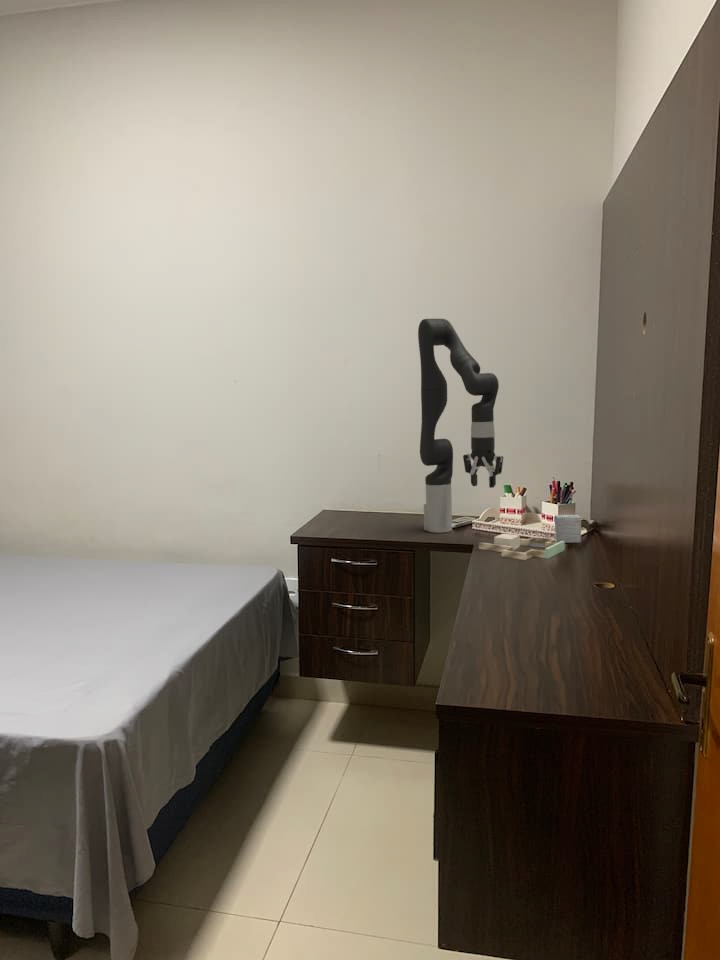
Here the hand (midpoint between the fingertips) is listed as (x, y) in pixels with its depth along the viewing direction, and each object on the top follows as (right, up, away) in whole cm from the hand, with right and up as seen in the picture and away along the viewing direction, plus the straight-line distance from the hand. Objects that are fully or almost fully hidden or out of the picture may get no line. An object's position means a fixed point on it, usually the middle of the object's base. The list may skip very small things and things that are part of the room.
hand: (483, 486), depth 242 cm
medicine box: (+28, -19, +3) cm, 34 cm away
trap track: (+12, -20, -6) cm, 24 cm away
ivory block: (+7, -20, -2) cm, 21 cm away
